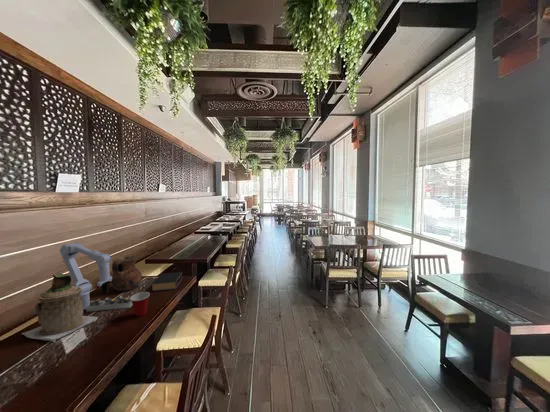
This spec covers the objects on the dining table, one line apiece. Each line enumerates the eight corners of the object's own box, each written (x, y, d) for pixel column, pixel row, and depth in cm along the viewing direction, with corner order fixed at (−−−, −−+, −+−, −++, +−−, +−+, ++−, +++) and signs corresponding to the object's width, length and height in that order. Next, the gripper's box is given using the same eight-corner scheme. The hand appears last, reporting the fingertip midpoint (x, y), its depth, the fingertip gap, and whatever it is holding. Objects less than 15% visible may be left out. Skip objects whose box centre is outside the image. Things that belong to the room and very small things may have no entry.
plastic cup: (128, 320, 143) (127, 300, 143) (134, 311, 154) (133, 293, 153) (148, 317, 146) (147, 297, 145) (152, 309, 156) (151, 291, 156)
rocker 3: (118, 301, 159) (119, 298, 159) (120, 299, 162) (121, 295, 162) (126, 302, 160) (127, 299, 160) (128, 300, 163) (129, 297, 163)
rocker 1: (90, 305, 156) (89, 302, 156) (93, 303, 159) (92, 300, 159) (98, 303, 157) (97, 300, 157) (101, 301, 160) (100, 297, 160)
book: (182, 279, 214) (182, 271, 214) (175, 289, 190) (175, 281, 189) (161, 281, 211) (161, 273, 211) (152, 292, 187) (151, 283, 186)
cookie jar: (99, 319, 145) (96, 267, 144) (52, 344, 121) (48, 281, 120) (69, 315, 151) (66, 265, 150) (19, 337, 128) (15, 278, 126)
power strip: (86, 312, 155) (85, 304, 155) (93, 306, 163) (92, 299, 163) (130, 307, 160) (129, 300, 159) (134, 302, 167) (134, 295, 167)
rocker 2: (104, 302, 158) (105, 299, 158) (107, 300, 161) (107, 297, 161) (112, 303, 158) (113, 300, 158) (115, 301, 162) (115, 298, 162)
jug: (117, 285, 202) (115, 256, 202) (144, 282, 209) (143, 253, 208) (107, 295, 181) (105, 262, 180) (138, 291, 188) (137, 259, 187)
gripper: (105, 275, 152) (106, 296, 153) (116, 269, 166) (117, 288, 167) (92, 276, 151) (94, 298, 151) (105, 270, 165) (106, 289, 166)
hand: (105, 293), depth 159 cm, fingers closed
